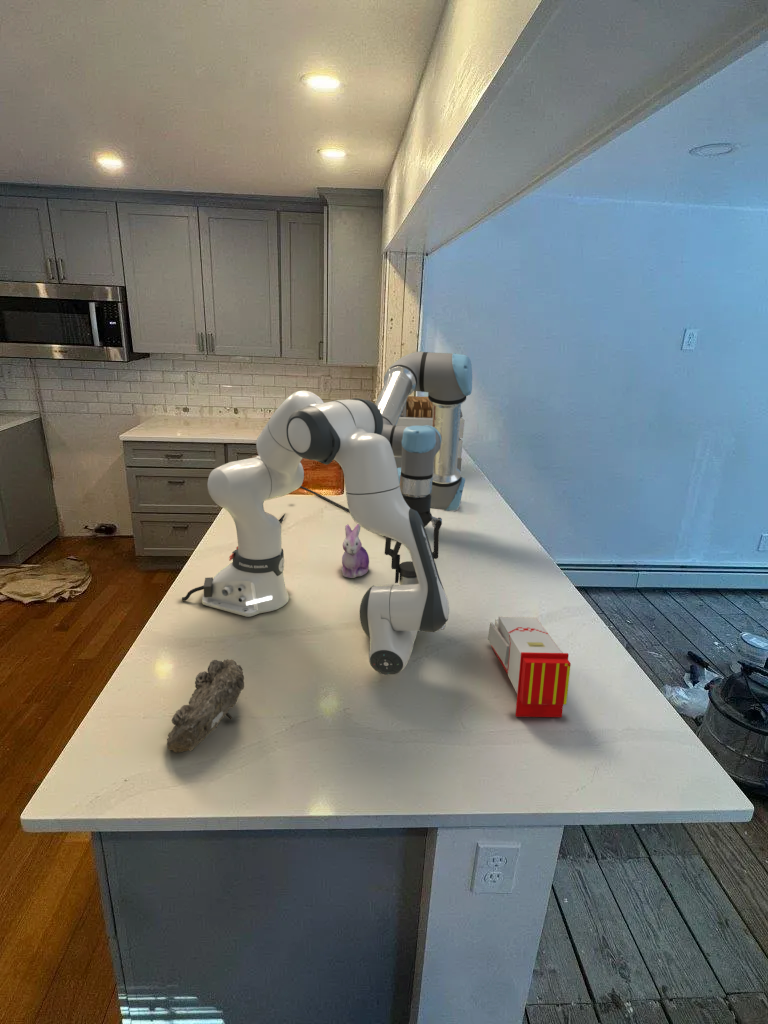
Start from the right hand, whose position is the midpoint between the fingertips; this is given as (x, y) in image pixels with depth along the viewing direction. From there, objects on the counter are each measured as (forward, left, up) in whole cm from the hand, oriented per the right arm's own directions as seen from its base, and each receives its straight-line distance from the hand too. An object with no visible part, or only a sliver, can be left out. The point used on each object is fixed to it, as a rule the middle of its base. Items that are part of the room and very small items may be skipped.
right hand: (409, 581), depth 141 cm
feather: (-82, +13, -11) cm, 84 cm away
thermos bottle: (0, 0, -11) cm, 11 cm away
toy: (+32, +4, -11) cm, 34 cm away
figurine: (-30, +6, -11) cm, 32 cm away
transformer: (-98, +99, -11) cm, 139 cm away
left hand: (-1, +1, -5) cm, 5 cm away
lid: (0, 0, +4) cm, 4 cm away
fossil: (+4, -54, -11) cm, 56 cm away
